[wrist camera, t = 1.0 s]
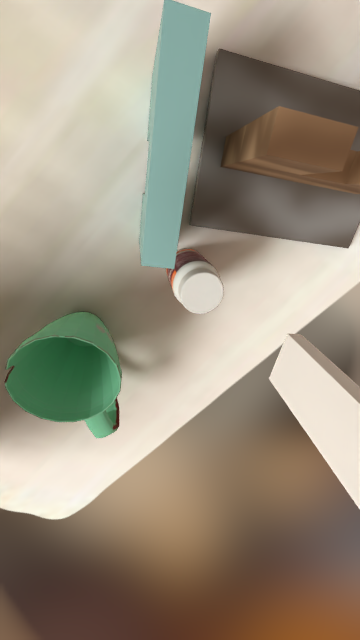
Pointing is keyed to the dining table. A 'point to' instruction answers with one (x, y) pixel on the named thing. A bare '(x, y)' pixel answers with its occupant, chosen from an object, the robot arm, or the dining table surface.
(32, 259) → the dining table surface
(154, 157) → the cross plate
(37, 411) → the mug
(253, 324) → the dining table surface
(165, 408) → the dining table surface
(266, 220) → the slotted stand
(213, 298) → the pill bottle
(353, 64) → the dining table surface
